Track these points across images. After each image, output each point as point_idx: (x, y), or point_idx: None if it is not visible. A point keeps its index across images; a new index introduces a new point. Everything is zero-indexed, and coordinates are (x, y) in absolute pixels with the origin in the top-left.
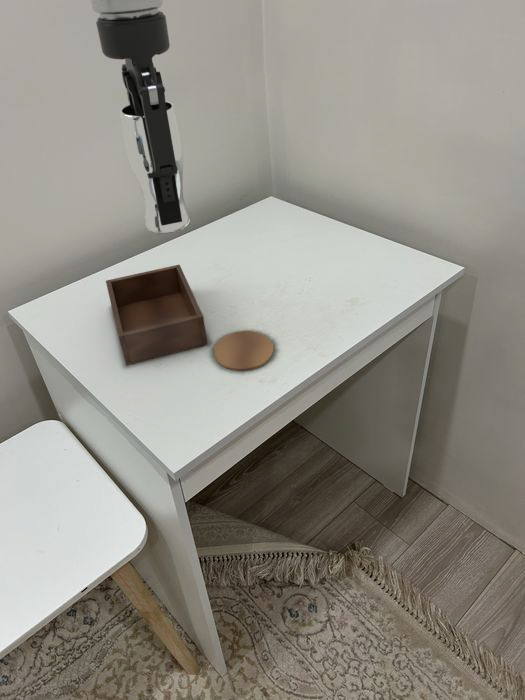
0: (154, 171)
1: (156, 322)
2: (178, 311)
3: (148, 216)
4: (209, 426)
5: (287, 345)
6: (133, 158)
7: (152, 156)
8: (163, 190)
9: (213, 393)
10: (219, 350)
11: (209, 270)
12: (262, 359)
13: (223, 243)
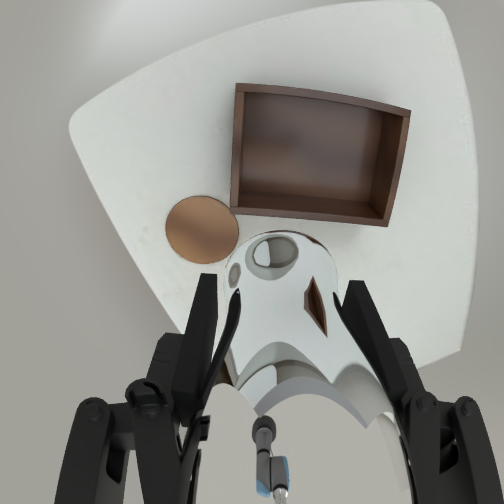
0: (86, 412)
1: (315, 147)
2: (324, 184)
3: (264, 258)
4: (99, 160)
5: (193, 274)
6: (236, 424)
7: (88, 461)
8: (151, 365)
9: (142, 176)
10: (210, 205)
11: (393, 253)
12: (174, 243)
13: (431, 286)
